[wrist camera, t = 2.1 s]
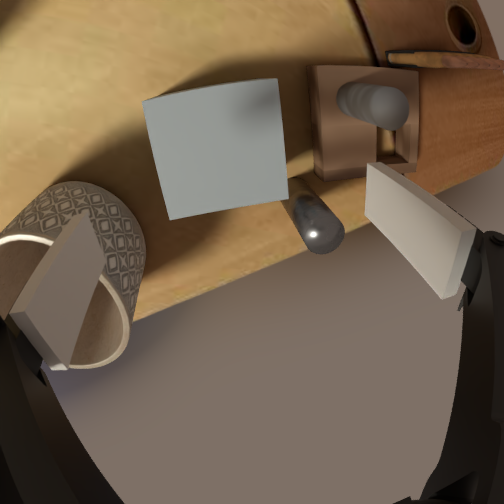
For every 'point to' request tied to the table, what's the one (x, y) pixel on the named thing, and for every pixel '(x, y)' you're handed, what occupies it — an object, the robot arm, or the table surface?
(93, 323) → the planter
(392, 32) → the table surface
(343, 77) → the socket board
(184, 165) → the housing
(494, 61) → the ammunition clip
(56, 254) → the robot arm
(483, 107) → the table surface
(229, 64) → the table surface
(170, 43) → the table surface
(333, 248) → the peg
